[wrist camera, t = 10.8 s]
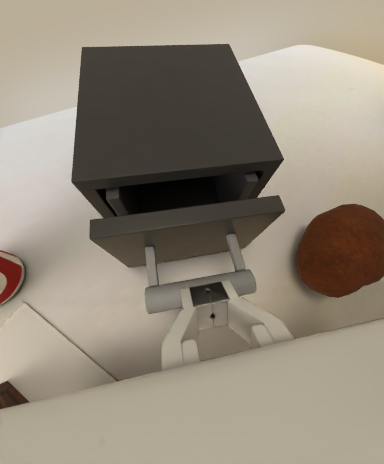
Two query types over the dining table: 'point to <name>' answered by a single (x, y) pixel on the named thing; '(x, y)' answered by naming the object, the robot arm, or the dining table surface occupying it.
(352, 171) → the dining table surface
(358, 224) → the potato
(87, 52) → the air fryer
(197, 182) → the drawer
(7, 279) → the soda can
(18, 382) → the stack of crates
